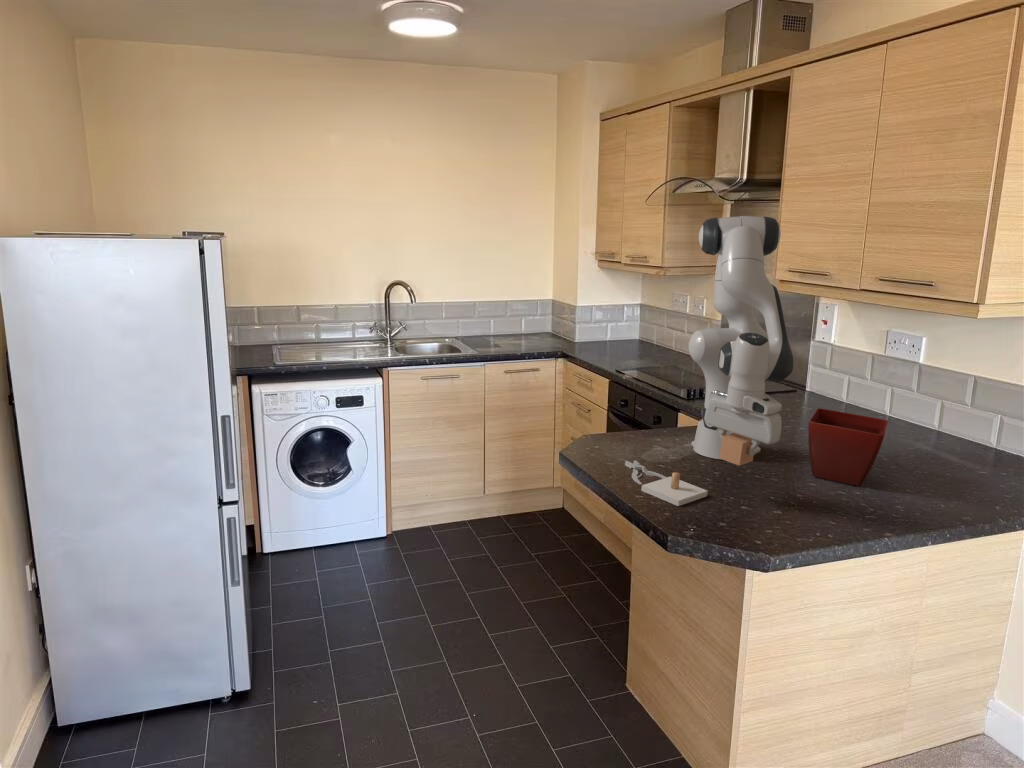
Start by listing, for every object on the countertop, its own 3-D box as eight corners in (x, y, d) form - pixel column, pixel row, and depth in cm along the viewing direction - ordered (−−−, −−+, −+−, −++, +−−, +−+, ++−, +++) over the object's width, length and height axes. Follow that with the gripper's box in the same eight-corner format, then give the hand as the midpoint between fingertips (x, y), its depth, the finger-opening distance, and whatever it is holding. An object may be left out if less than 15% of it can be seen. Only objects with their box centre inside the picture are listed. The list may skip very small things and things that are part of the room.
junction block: (670, 481, 193) (672, 462, 192) (707, 496, 184) (709, 476, 183) (641, 490, 186) (643, 470, 184) (678, 506, 177) (680, 485, 175)
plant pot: (878, 474, 208) (888, 419, 204) (873, 494, 192) (884, 435, 188) (809, 460, 217) (817, 407, 213) (799, 478, 201) (808, 421, 197)
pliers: (640, 480, 189) (614, 461, 203) (639, 486, 190) (614, 466, 204) (672, 478, 192) (645, 459, 206) (671, 483, 193) (645, 464, 207)
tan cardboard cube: (732, 454, 186) (735, 432, 185) (752, 461, 182) (756, 439, 180) (719, 458, 183) (722, 436, 181) (739, 465, 178) (742, 443, 177)
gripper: (703, 390, 184) (696, 440, 187) (774, 410, 169) (765, 464, 172) (717, 387, 188) (710, 436, 191) (788, 406, 173) (779, 459, 176)
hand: (737, 450), depth 182 cm, fingers closed on tan cardboard cube, 6 cm apart
